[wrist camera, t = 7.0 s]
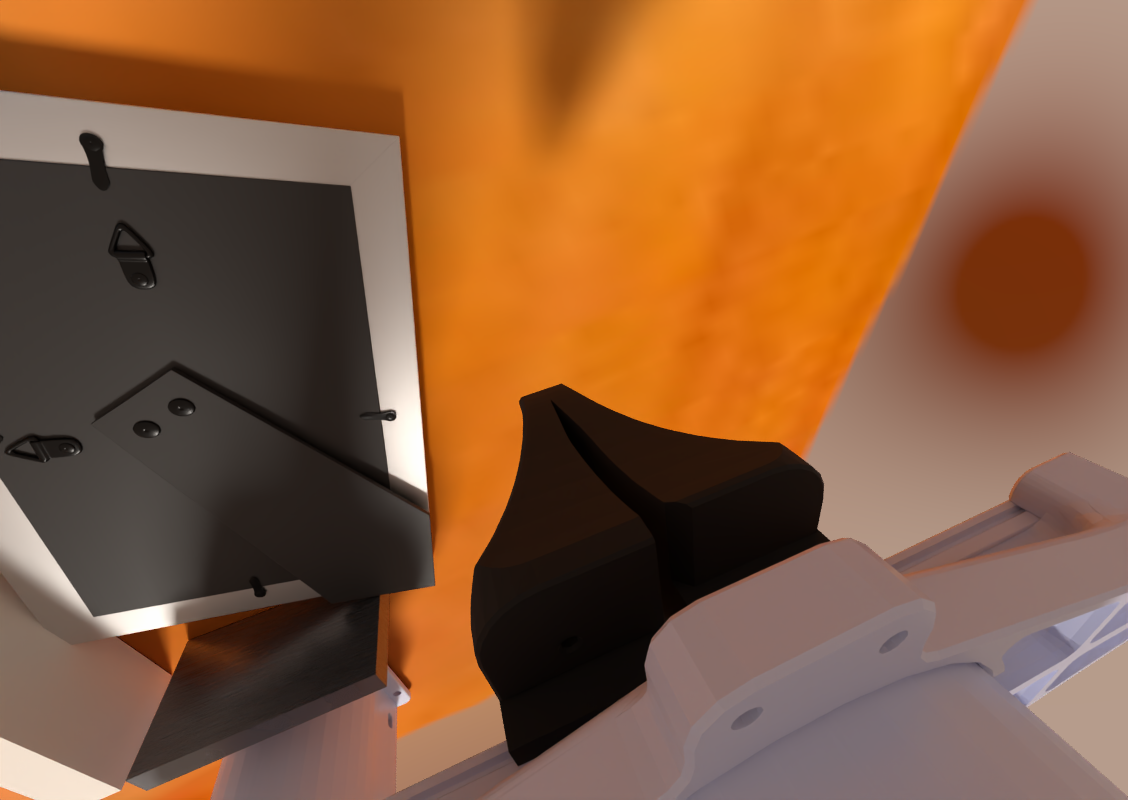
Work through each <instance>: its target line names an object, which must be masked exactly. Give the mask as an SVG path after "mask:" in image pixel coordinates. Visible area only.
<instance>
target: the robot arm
mask: <svg viewBox="0 0 1128 800" xmlns="http://www.w3.org/2000/svg"><path fill="white" fill-rule="evenodd" d="M519 404H520V407H521V410H522V414H523V441H522V449H521V456H520V462H519V467H518V472H517V476H516V479H515V483H514V486H513V489H512V492H511V495H510V498H509V501H508V504H507V506H506V509H505V511H504V513H503V516H502V518H501V520H500V522H499V524H498V526H497V529H496V531H495V533H494V535H493V537H492V539H491V540H490V542H489V544H488V545H487V547H486V549H485V550H484V552H483V554H482V555H481V557H480V559H479V561H478V562H477V564H476V565H475V568H474V575H473V583H472V594H471V631H472V638H473V645H474V652H475V656H476V659H477V663H478V666H479V668H480V669H481V671H482V673H483V674H484V676H485V678H486V679H487V681H488V682H489V684H490V686H491V687H492V689H493V691H494V692H495V694H496V696H497V697H498V699H499V701H500V706H501V712H502V718H503V724H504V729H505V735H506V741H504V742H502V743H500V744H498V745H496V746H494V747H491V748H489V749H487V750H485V751H483V752H481V753H479V754H477V755H475V756H473V757H470V758H468V759H466V760H464V761H462V762H460V763H458V764H456V765H454V766H452V767H450V768H448V769H445V770H443V771H441V772H439V773H437V774H435V775H433V776H431V777H429V778H427V779H424V780H422V781H420V782H418V783H416V784H414V785H412V786H410V787H408V788H406V789H404V790H402V791H399V792H397V793H396V743H397V707H398V706H400V705H402V704H405V703H407V702H408V701H409V700H410V698H411V693H410V691H409V690H408V689H407V688H406V686H405V685H404V684H403V683H402V682H401V680H400V679H399V678H398V677H397V676H396V674H395V673H394V672H393V671H392V670H391V669H390V667H389V666H388V667H387V687H385V688H383V689H381V690H378V691H376V692H374V693H371V694H369V695H367V696H364V697H362V698H360V699H358V700H355V701H353V702H351V703H348V704H346V705H344V706H341V707H339V708H337V709H334V710H332V711H330V712H328V713H325V714H323V715H321V716H318V717H316V718H314V719H311V720H309V721H307V722H304V723H302V724H300V725H297V726H295V727H293V728H291V729H288V730H286V731H284V732H281V733H279V734H277V735H274V736H272V737H270V738H267V739H265V740H263V741H260V742H258V743H256V744H254V745H251V746H249V747H247V748H244V749H242V750H240V751H237V752H235V753H233V754H230V755H228V756H226V757H224V758H223V759H222V763H221V766H220V769H219V773H218V776H217V779H216V783H215V786H214V789H213V793H212V796H211V799H210V800H1128V796H1127V795H1125V794H1124V793H1123V792H1122V791H1121V790H1120V789H1119V788H1118V787H1117V786H1115V785H1114V784H1113V783H1112V782H1111V781H1110V780H1108V779H1107V778H1106V777H1105V776H1104V775H1103V774H1102V773H1100V771H1098V770H1097V769H1096V768H1095V767H1094V766H1093V765H1092V764H1090V763H1089V762H1088V761H1087V760H1086V759H1085V758H1084V757H1082V756H1081V755H1080V754H1079V753H1078V752H1077V751H1076V750H1075V749H1073V748H1072V747H1071V746H1070V745H1069V744H1068V743H1067V742H1065V741H1064V740H1063V739H1062V738H1061V737H1060V736H1059V735H1057V734H1056V733H1055V732H1054V731H1053V730H1052V729H1051V728H1050V727H1048V726H1047V725H1046V724H1045V723H1044V722H1043V721H1042V720H1041V719H1039V718H1038V717H1037V716H1036V715H1035V714H1034V713H1033V712H1031V711H1030V710H1029V709H1028V708H1027V707H1028V706H1030V705H1031V704H1033V703H1034V702H1036V701H1037V700H1039V699H1040V698H1042V697H1043V696H1044V695H1046V694H1048V693H1049V692H1050V691H1052V690H1053V689H1055V688H1057V687H1058V686H1059V685H1061V684H1062V683H1064V682H1065V681H1067V680H1068V679H1070V678H1071V677H1073V676H1074V675H1076V674H1077V673H1079V672H1080V671H1082V670H1083V669H1085V668H1086V667H1088V666H1089V665H1091V664H1093V663H1094V662H1096V661H1097V660H1099V659H1100V658H1101V657H1103V656H1105V655H1106V654H1108V653H1109V652H1111V651H1113V650H1114V649H1116V648H1117V647H1119V646H1120V645H1122V644H1124V643H1125V642H1127V641H1128V478H1127V477H1125V476H1123V475H1120V474H1118V473H1116V472H1114V471H1111V470H1109V469H1107V468H1104V467H1102V466H1100V465H1098V464H1095V463H1093V462H1091V461H1089V460H1086V459H1084V458H1082V457H1080V456H1077V455H1075V454H1073V453H1071V452H1069V453H1063V454H1061V455H1058V456H1056V457H1054V458H1052V459H1050V460H1048V461H1046V462H1043V463H1041V464H1039V465H1037V466H1035V467H1033V468H1031V469H1029V470H1028V471H1026V472H1025V473H1024V474H1023V475H1022V476H1021V477H1020V478H1019V479H1018V480H1017V481H1016V483H1015V484H1014V486H1013V488H1012V490H1011V492H1010V495H1009V500H1008V501H1006V502H1003V503H1002V504H999V505H997V506H995V507H993V508H991V509H989V510H987V511H985V512H983V513H980V514H978V515H976V516H974V517H972V518H970V519H968V520H966V521H964V522H962V523H960V524H957V525H955V526H953V527H951V528H949V529H947V530H945V531H943V532H941V533H939V534H937V535H934V536H932V537H930V538H928V539H926V540H924V541H922V542H920V543H918V544H916V545H914V546H911V547H909V548H908V549H905V550H903V551H901V552H899V553H897V554H895V555H893V556H891V557H889V558H886V559H884V560H883V559H882V558H881V557H880V556H879V555H878V554H876V553H875V552H874V551H873V550H872V549H870V548H869V547H868V546H867V545H866V544H863V543H861V542H859V541H856V540H854V539H852V538H841V539H837V540H833V541H830V540H829V539H828V538H827V537H825V536H824V535H823V534H822V533H821V532H820V531H819V530H818V529H817V527H818V522H819V517H820V512H821V507H822V502H823V491H824V483H823V480H822V477H821V475H820V473H819V472H817V471H816V470H815V469H814V468H813V467H812V466H811V465H809V464H808V463H807V462H805V461H804V460H803V459H802V458H800V457H799V456H798V455H796V454H795V453H794V452H792V451H791V450H789V449H788V448H787V447H785V446H784V445H782V444H780V443H778V442H756V441H736V440H727V439H718V438H710V437H703V436H697V435H692V434H687V433H682V432H677V431H672V430H668V429H664V428H661V427H657V426H654V425H651V424H647V423H644V422H641V421H638V420H635V419H632V418H630V417H627V416H625V415H622V414H620V413H618V412H615V411H613V410H611V409H608V408H606V407H604V406H602V405H600V404H598V403H596V402H594V401H592V400H590V399H589V398H587V397H585V396H583V395H581V394H579V393H578V392H576V391H574V390H572V389H571V388H569V387H567V386H565V385H563V384H559V385H556V386H553V387H550V388H547V389H544V390H541V391H538V392H535V393H532V394H529V395H526V396H524V397H522V398H521V399H520V401H519Z"/></svg>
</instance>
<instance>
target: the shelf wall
mask: <svg viewBox="0 0 1128 800" xmlns="http://www.w3.org/2000/svg"><path fill="white" fill-rule="evenodd" d="M171 678H172V675H171V674H169V673H168V672H166V671H165V670H163V669H162V668H160V667H159V666H158V665H156V664H155V663H153V662H152V661H150V660H149V659H147V658H146V657H145V656H143V655H142V654H140V653H139V652H137V651H136V650H134V649H133V648H132V647H130V646H129V645H127V644H126V643H124V642H123V641H122V640H120V639H119V638H117V637H116V636H115V637H110V638H105V639H100V640H95V641H90V642H85V643H79V644H74V645H70V644H69V643H67V642H66V641H64V640H62V639H61V638H59V637H58V636H56V635H54V634H53V633H51V632H50V631H48V630H46V629H45V628H43V626H42V625H41V624H40V623H39V621H38V620H37V619H36V617H35V616H34V615H33V614H32V612H31V611H30V610H29V608H28V607H27V606H26V604H25V603H24V602H23V601H22V599H21V598H20V597H19V595H18V594H17V593H16V592H15V590H14V589H13V588H12V586H11V585H10V584H9V582H8V581H7V580H6V579H5V577H4V576H3V575H2V573H1V572H0V787H2V788H5V789H8V790H11V791H13V792H16V793H19V794H21V795H24V796H27V797H30V798H32V799H35V800H100V799H102V798H104V797H107V796H109V795H111V794H114V793H116V792H118V791H121V789H122V787H123V785H124V783H125V781H126V778H127V776H128V774H129V772H130V769H131V767H132V765H133V763H134V760H135V758H136V756H137V754H138V751H139V749H140V747H141V745H142V742H143V740H144V738H145V736H146V733H147V731H148V729H149V727H150V725H151V722H152V720H153V718H154V716H155V713H156V711H157V709H158V707H159V704H160V702H161V700H162V698H163V695H164V693H165V691H166V689H167V686H168V684H169V682H170V680H171Z"/></svg>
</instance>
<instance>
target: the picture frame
mask: <svg viewBox="0 0 1128 800" xmlns="http://www.w3.org/2000/svg"><path fill="white" fill-rule="evenodd" d="M0 572H1V573H2V575H3V576H4V577H5V579H6V580H7V581H8V582H9V584H10V585H11V586H12V588H13V589H14V590H15V592H16V593H17V594H18V595H19V597H20V598H21V599H22V601H23V602H24V603H25V604H26V606H27V607H28V608H29V610H30V611H31V612H32V614H33V615H34V616H35V617H36V619H37V620H38V621H39V623H40V624H41V625H42V626H43V628H45V629H46V630H48V631H50V632H51V633H53V634H54V635H56V636H58V637H59V638H61V639H62V640H64V641H66V642H67V643H69V644H70V645H74V644H79V643H85V642H90V641H95V640H100V639H105V638H110V637H115V636H120V635H126V634H131V633H136V632H141V631H146V630H151V629H156V628H161V627H167V626H172V625H177V624H182V623H187V622H192V621H197V620H202V619H208V618H213V617H218V616H223V615H228V614H233V613H238V612H243V611H249V610H254V609H259V608H264V607H269V606H274V605H279V604H284V603H290V602H295V601H300V600H305V599H310V598H315V597H320V596H322V597H324V598H325V599H326V600H328V601H329V602H330V603H332V604H333V603H339V602H344V601H350V600H356V599H362V598H367V597H373V596H379V595H384V594H390V593H396V592H402V591H407V590H413V589H419V588H424V587H430V586H435V576H434V563H433V550H432V537H431V525H430V512H429V500H428V487H427V474H426V462H425V449H424V437H423V424H422V411H421V399H420V386H419V373H418V361H417V348H416V336H415V323H414V310H413V298H412V285H411V273H410V260H409V247H408V235H407V222H406V209H405V197H404V184H403V172H402V159H401V146H400V137H399V136H397V135H389V134H380V133H371V132H363V131H354V130H345V129H336V128H328V127H319V126H310V125H301V124H293V123H284V122H275V121H267V120H258V119H249V118H240V117H232V116H223V115H214V114H206V113H197V112H188V111H179V110H171V109H162V108H153V107H145V106H136V105H127V104H118V103H110V102H101V101H92V100H83V99H75V98H66V97H57V96H49V95H40V94H31V93H22V92H14V91H5V90H0Z"/></svg>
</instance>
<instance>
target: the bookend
mask: <svg viewBox="0 0 1128 800" xmlns="http://www.w3.org/2000/svg"><path fill="white" fill-rule="evenodd" d="M389 605H390V594H384V595H379V596H373V597H367V598H362V599H356V600H350V601H344V602H339V603H333V604H332V603H330V602H329V601H328V600H326V599H325V598H324V597H322V596H320V597H315V598H310V599H305V600H300V601H295V602H290V603H285V604H283V605H280V606H277V607H275V608H272V609H270V610H267V611H264V612H262V613H259V614H257V615H254V616H251V617H249V618H246V619H244V620H241V621H238V622H236V623H233V624H231V625H228V626H225V627H223V628H220V629H218V630H215V631H212V632H210V633H207V634H205V635H202V636H199V637H197V638H194V639H192V640H189V641H188V642H187V644H186V646H185V649H184V651H183V653H182V655H181V658H180V660H179V662H178V664H177V667H176V669H175V671H174V673H173V676H172V678H171V680H170V682H169V684H168V687H167V689H166V691H165V693H164V696H163V698H162V700H161V702H160V705H159V707H158V709H157V711H156V714H155V716H154V718H153V720H152V723H151V725H150V727H149V729H148V732H147V734H146V736H145V738H144V740H143V743H142V745H141V747H140V749H139V752H138V754H137V756H136V758H135V761H134V763H133V765H132V767H131V770H130V772H129V774H128V776H127V779H126V781H127V782H129V783H131V784H133V785H135V786H137V787H140V788H142V789H144V790H146V791H147V790H150V789H152V788H154V787H157V786H159V785H161V784H163V783H166V782H168V781H170V780H173V779H175V778H177V777H180V776H182V775H184V774H187V773H189V772H191V771H193V770H196V769H198V768H200V767H203V766H205V765H207V764H210V763H212V762H214V761H217V760H219V759H221V758H224V757H226V756H228V755H230V754H233V753H235V752H237V751H240V750H242V749H244V748H247V747H249V746H251V745H254V744H256V743H258V742H260V741H263V740H265V739H267V738H270V737H272V736H274V735H277V734H279V733H281V732H284V731H286V730H288V729H291V728H293V727H295V726H297V725H300V724H302V723H304V722H307V721H309V720H311V719H314V718H316V717H318V716H321V715H323V714H325V713H328V712H330V711H332V710H334V709H337V708H339V707H341V706H344V705H346V704H348V703H351V702H353V701H355V700H358V699H360V698H362V697H364V696H367V695H369V694H371V693H374V692H376V691H378V690H381V689H383V688H385V687H387V667H388V636H389Z"/></svg>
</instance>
